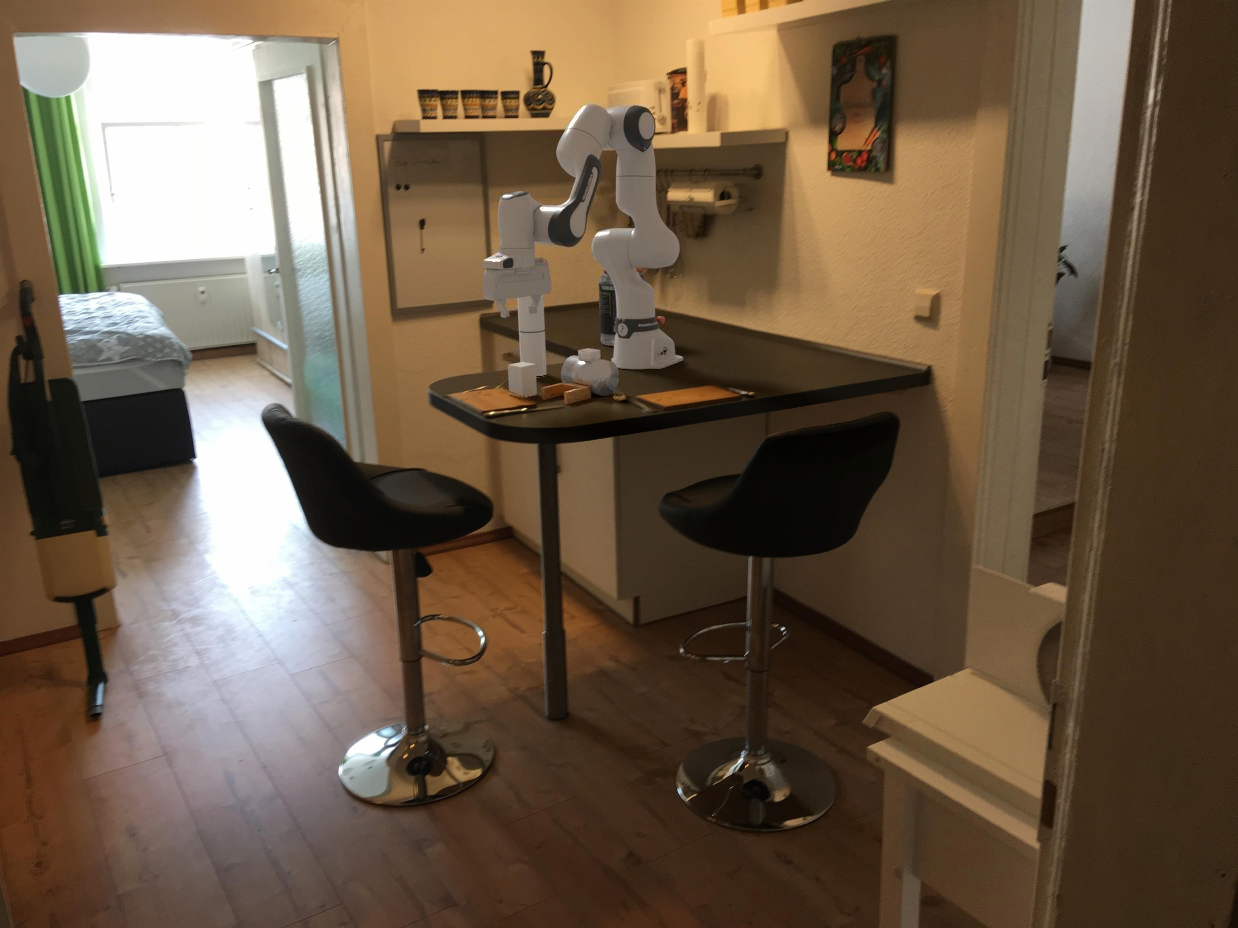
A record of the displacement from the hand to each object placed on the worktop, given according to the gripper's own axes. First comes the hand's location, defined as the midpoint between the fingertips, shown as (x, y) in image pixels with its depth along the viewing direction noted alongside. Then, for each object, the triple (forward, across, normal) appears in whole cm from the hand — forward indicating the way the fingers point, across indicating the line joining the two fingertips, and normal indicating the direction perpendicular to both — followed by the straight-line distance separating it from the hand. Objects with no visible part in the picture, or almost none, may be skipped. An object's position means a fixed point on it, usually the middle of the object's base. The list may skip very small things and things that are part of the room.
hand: (519, 315), depth 252 cm
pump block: (+20, 0, 0) cm, 21 cm away
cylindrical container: (+20, -19, -16) cm, 32 cm away
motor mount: (+20, -9, +12) cm, 25 cm away
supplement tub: (+19, -72, -30) cm, 80 cm away
